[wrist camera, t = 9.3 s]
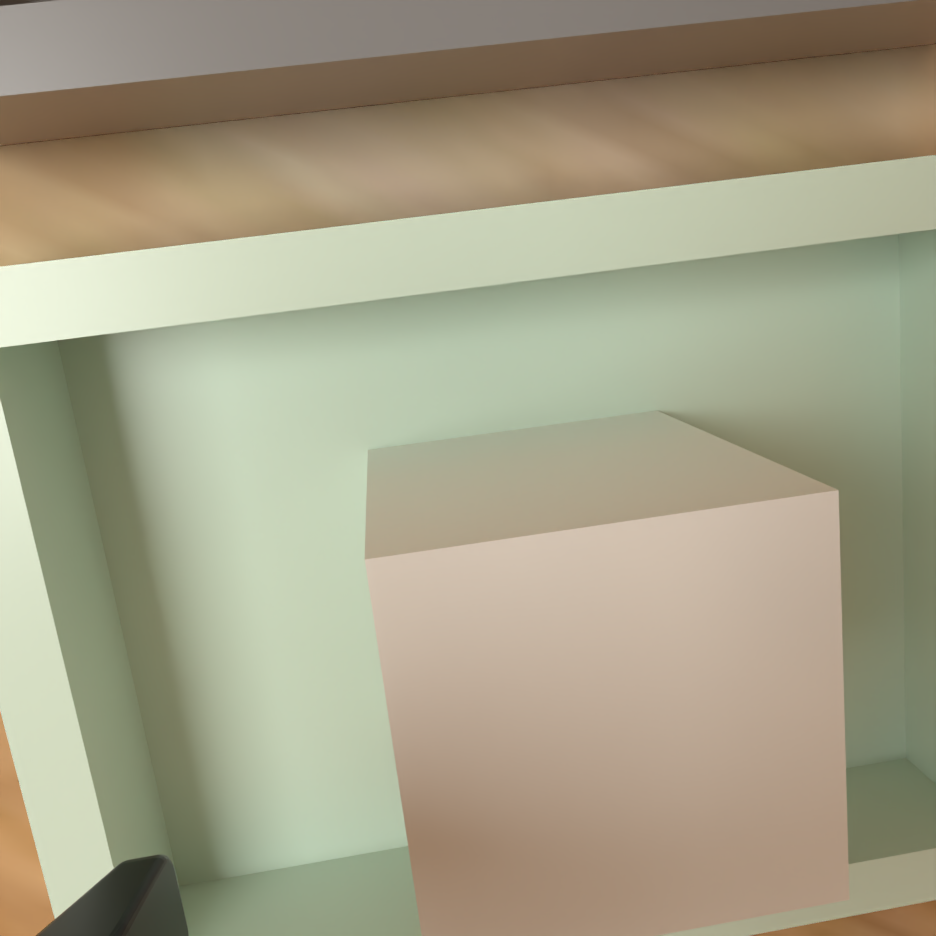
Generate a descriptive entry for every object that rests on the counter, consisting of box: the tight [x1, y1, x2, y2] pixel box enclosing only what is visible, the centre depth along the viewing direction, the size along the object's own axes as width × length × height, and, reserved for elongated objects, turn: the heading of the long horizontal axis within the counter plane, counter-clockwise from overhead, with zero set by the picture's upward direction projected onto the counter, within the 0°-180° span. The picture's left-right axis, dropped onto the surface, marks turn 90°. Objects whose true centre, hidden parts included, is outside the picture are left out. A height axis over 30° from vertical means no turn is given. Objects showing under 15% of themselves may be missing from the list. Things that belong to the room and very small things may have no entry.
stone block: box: [365, 410, 849, 936], centre depth 12 cm, size 5×5×6 cm
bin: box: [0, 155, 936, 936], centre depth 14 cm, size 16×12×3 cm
